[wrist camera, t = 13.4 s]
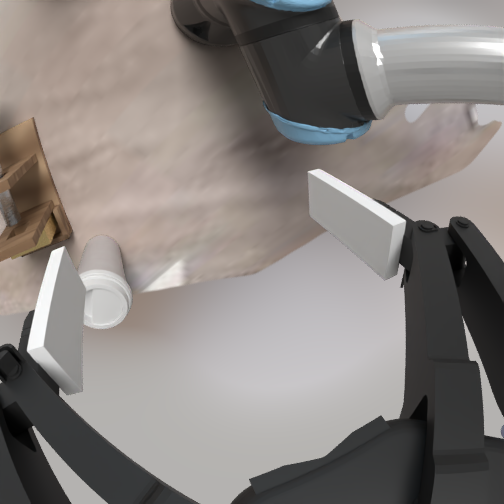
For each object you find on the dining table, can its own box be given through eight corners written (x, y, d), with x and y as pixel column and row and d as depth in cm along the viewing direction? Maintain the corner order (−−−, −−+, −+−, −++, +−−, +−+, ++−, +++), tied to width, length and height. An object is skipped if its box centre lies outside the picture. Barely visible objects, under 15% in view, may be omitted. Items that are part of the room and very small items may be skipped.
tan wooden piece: (17, 223, 40) (5, 246, 34) (53, 208, 42) (44, 229, 36) (23, 236, 41) (12, 259, 35) (59, 221, 43) (50, 243, 37)
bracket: (-17, 143, 32) (-58, 168, 21) (33, 117, 34) (-1, 132, 23) (25, 248, 43) (5, 299, 32) (72, 230, 46) (60, 278, 35)
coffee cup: (91, 217, 46) (81, 267, 34) (138, 242, 51) (145, 295, 40) (68, 261, 48) (57, 318, 36) (113, 282, 53) (116, 341, 42)
